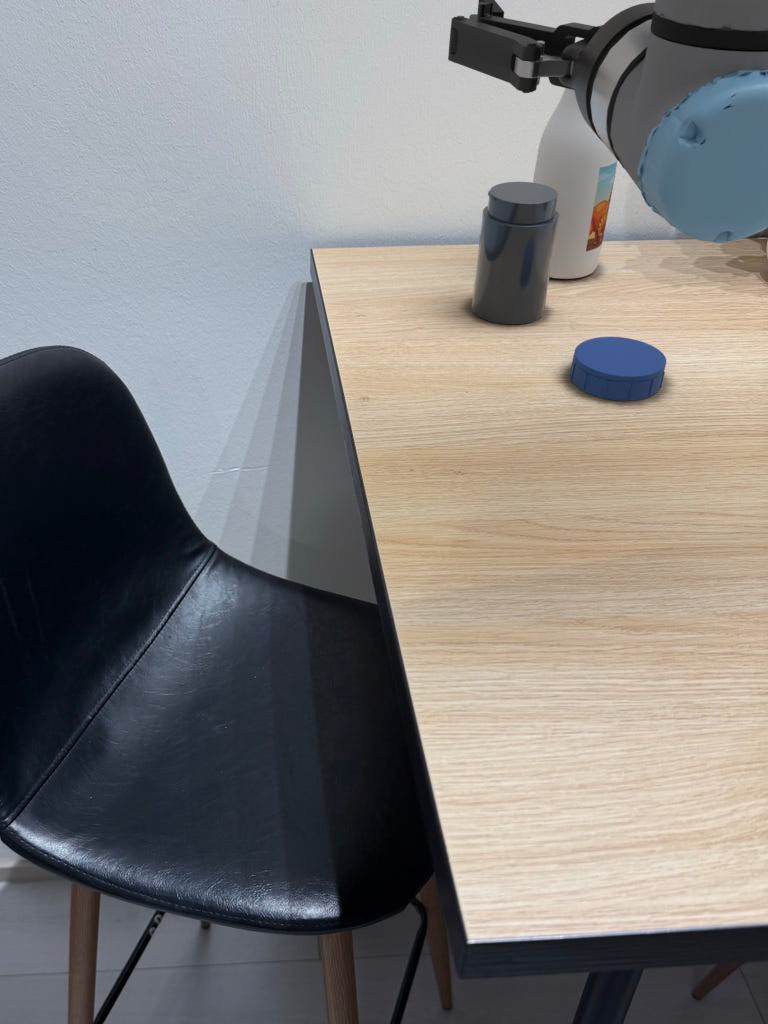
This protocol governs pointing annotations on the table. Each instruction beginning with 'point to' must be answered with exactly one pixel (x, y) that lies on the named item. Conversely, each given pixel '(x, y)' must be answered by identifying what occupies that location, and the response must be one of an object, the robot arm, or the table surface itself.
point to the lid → (618, 368)
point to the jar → (515, 252)
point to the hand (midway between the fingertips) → (575, 15)
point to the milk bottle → (575, 187)
